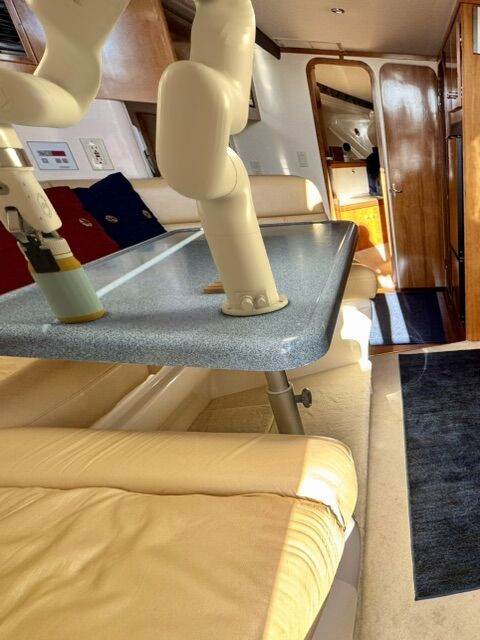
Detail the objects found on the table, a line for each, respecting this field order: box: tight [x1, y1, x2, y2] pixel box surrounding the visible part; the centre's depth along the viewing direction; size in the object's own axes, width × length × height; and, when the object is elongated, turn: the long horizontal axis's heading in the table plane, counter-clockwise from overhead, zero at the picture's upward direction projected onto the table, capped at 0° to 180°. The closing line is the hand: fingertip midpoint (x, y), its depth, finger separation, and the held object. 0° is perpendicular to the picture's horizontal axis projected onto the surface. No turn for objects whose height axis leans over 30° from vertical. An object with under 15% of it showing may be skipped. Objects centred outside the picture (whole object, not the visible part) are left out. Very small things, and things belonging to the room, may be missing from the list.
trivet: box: [203, 280, 225, 294], centre depth 99 cm, size 8×8×1 cm
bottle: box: [16, 237, 106, 324], centre depth 77 cm, size 7×7×15 cm
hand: (55, 267), depth 75 cm, fingers closed on bottle, 7 cm apart
